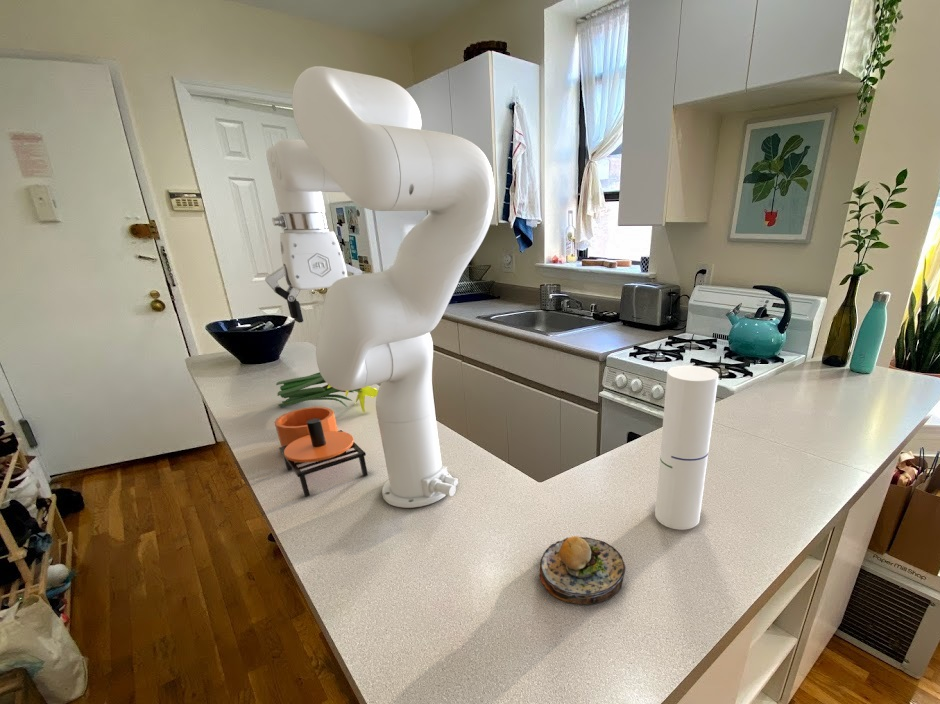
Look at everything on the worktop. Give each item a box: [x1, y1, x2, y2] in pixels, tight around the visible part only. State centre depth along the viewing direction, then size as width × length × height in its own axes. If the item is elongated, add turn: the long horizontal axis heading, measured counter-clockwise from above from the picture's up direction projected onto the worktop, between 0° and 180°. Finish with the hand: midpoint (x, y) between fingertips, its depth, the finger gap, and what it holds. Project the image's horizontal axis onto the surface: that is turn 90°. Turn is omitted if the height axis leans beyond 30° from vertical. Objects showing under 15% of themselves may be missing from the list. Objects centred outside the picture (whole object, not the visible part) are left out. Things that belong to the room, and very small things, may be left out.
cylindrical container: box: [654, 364, 719, 531], centre depth 72 cm, size 7×7×25 cm
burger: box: [538, 536, 626, 605], centre depth 63 cm, size 12×12×8 cm
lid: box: [284, 419, 355, 463], centre depth 89 cm, size 12×12×6 cm
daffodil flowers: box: [276, 371, 379, 414], centre depth 120 cm, size 17×15×35 cm
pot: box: [274, 406, 339, 447], centre depth 100 cm, size 11×11×8 cm
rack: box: [278, 429, 369, 498], centre depth 91 cm, size 14×12×5 cm
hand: (325, 317), depth 91 cm, fingers open, 9 cm apart
